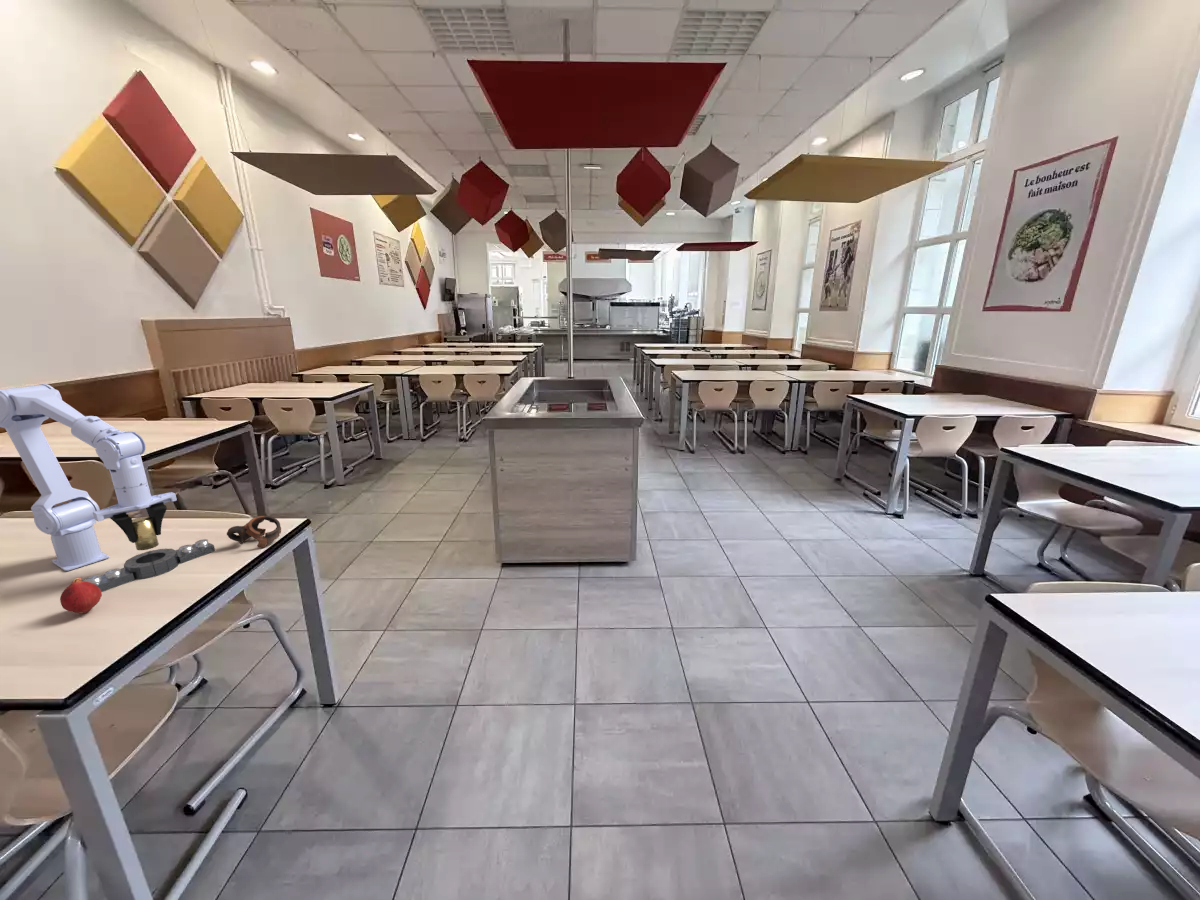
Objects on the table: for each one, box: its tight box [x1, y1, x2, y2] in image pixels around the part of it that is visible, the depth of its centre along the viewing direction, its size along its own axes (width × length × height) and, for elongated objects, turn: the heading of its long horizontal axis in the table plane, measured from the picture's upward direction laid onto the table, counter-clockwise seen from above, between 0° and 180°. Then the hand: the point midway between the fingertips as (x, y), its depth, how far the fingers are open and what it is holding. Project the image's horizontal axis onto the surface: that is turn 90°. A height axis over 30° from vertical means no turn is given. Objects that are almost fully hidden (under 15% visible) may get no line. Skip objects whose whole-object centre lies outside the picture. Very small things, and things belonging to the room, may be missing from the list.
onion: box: [59, 577, 103, 614], centre depth 101 cm, size 6×6×8 cm
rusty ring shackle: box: [226, 515, 282, 549], centre depth 132 cm, size 12×10×8 cm
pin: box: [132, 515, 160, 551], centre depth 117 cm, size 4×4×7 cm
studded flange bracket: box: [83, 538, 216, 593], centre depth 119 cm, size 9×24×3 cm, turn 152°
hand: (145, 537), depth 117 cm, fingers closed on pin, 4 cm apart
